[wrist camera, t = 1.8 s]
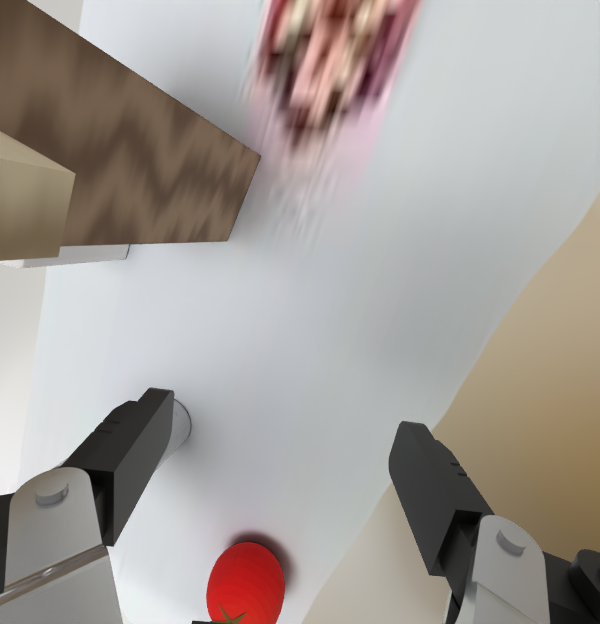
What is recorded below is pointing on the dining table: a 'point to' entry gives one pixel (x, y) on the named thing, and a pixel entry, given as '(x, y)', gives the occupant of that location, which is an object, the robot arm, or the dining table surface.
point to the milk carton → (75, 256)
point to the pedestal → (116, 139)
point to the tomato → (245, 586)
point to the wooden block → (31, 202)
